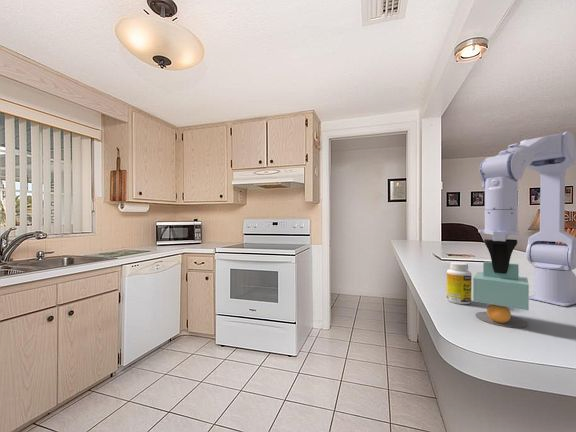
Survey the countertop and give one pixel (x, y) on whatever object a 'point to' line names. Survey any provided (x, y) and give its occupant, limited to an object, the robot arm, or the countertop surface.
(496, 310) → the ball
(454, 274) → the supplement bottle
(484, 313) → the disc
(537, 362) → the countertop surface
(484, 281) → the two-tier mint step
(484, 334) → the countertop surface
